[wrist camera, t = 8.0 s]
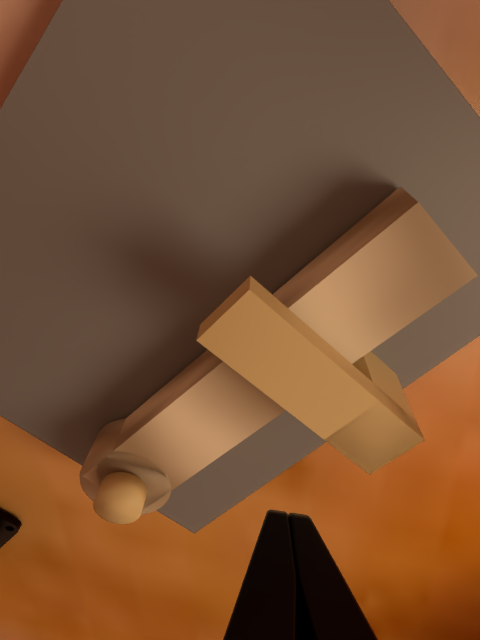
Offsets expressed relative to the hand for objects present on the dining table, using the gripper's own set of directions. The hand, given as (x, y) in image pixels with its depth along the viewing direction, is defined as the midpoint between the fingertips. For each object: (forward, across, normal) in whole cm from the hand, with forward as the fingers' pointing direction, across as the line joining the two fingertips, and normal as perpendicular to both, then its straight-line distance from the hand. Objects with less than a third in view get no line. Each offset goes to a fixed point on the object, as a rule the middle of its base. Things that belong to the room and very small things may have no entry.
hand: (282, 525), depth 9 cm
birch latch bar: (+9, +1, +3) cm, 10 cm away
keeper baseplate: (+11, +3, 0) cm, 11 cm away
